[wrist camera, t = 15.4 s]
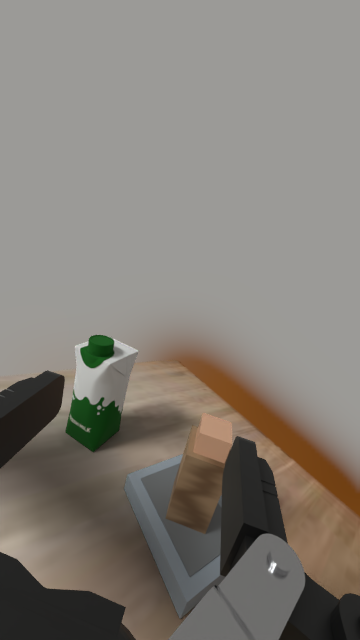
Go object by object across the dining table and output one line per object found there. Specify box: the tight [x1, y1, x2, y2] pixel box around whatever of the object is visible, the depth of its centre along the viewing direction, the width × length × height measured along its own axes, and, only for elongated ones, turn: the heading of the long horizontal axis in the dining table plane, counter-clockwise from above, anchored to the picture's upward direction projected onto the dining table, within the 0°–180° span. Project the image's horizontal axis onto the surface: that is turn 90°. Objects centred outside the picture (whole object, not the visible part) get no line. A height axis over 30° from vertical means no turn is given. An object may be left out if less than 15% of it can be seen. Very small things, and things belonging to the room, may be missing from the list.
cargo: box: [193, 413, 232, 463], centre depth 32 cm, size 4×4×3 cm
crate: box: [165, 425, 230, 534], centre depth 34 cm, size 6×6×11 cm
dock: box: [124, 454, 225, 619], centre depth 36 cm, size 16×12×3 cm
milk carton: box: [66, 335, 139, 452], centre depth 45 cm, size 9×9×20 cm
